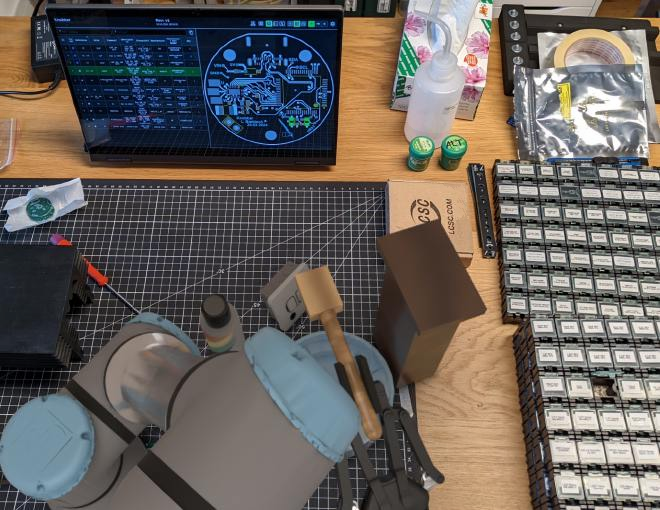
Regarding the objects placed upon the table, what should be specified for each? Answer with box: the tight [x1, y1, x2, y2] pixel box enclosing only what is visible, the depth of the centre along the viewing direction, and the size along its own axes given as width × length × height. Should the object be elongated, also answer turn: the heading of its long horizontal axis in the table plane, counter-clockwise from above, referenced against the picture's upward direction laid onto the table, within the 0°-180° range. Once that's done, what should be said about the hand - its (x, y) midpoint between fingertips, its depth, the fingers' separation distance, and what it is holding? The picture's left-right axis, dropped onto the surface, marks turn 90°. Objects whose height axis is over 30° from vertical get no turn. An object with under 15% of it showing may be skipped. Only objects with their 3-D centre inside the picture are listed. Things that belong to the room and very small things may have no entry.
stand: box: [372, 218, 488, 390], centre depth 91 cm, size 9×14×30 cm, turn 20°
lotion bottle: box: [199, 292, 247, 355], centre depth 95 cm, size 6×6×20 cm
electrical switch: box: [258, 260, 310, 332], centre depth 105 cm, size 9×5×9 cm, turn 141°
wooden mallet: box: [295, 264, 383, 441], centre depth 75 cm, size 4×22×2 cm, turn 20°
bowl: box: [294, 330, 395, 459], centre depth 98 cm, size 19×19×6 cm
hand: (349, 361), depth 71 cm, fingers closed on wooden mallet, 2 cm apart
